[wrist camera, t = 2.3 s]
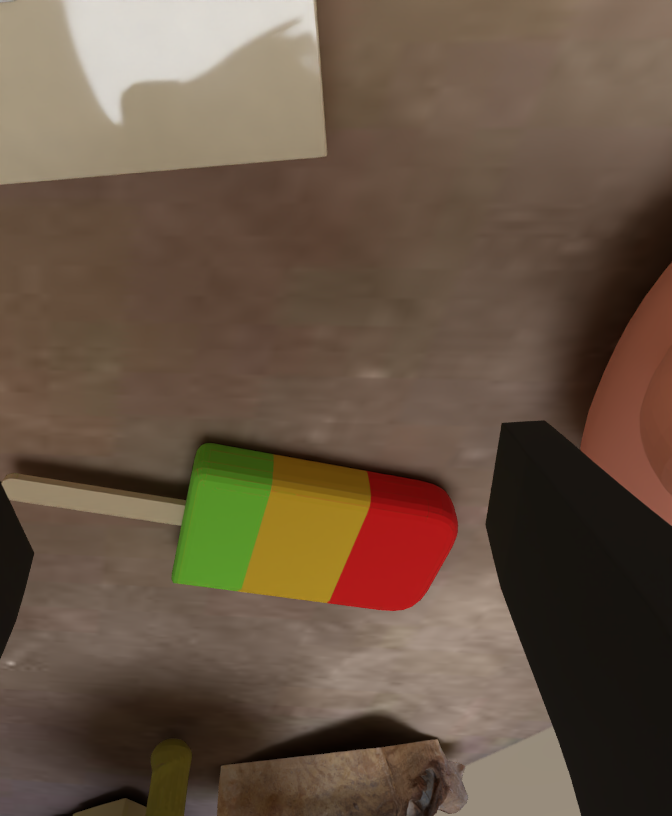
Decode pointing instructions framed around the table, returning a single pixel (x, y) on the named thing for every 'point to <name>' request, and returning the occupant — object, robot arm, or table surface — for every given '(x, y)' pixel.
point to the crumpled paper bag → (346, 784)
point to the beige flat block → (156, 86)
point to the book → (115, 809)
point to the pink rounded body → (638, 405)
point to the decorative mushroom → (169, 778)
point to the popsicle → (285, 526)
